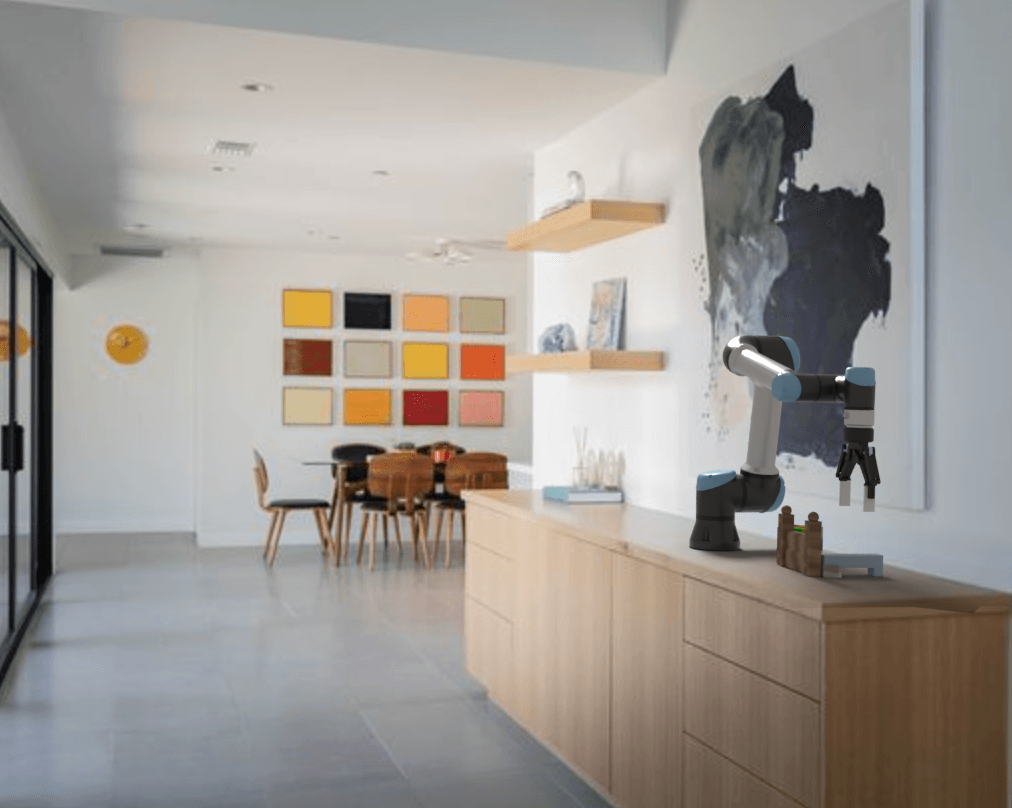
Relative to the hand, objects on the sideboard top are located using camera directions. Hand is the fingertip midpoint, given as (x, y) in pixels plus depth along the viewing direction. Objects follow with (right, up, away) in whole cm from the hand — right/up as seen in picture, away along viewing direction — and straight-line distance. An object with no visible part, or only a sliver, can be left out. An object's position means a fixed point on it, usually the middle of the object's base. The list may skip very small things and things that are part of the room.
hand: (856, 508), depth 302 cm
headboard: (-11, -17, +6) cm, 21 cm away
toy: (-9, -17, +21) cm, 29 cm away
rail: (-2, -17, 0) cm, 17 cm away
